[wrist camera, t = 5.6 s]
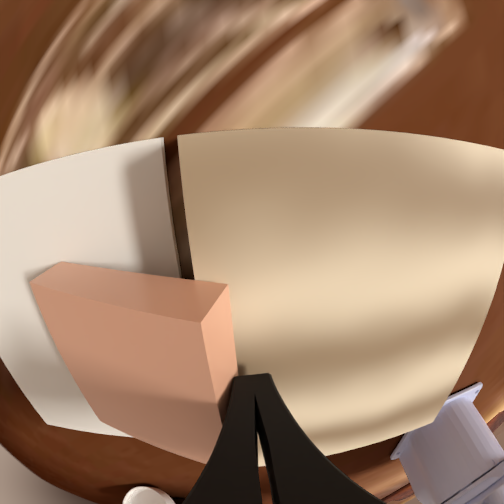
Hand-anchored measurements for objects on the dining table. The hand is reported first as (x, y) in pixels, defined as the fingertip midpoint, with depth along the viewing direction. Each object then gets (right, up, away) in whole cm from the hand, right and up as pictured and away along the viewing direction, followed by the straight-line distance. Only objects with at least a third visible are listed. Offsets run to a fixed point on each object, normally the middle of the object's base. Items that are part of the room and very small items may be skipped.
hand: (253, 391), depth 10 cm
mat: (-10, +1, +3) cm, 10 cm away
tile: (-4, 0, +1) cm, 5 cm away
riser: (+5, +2, +4) cm, 7 cm away
